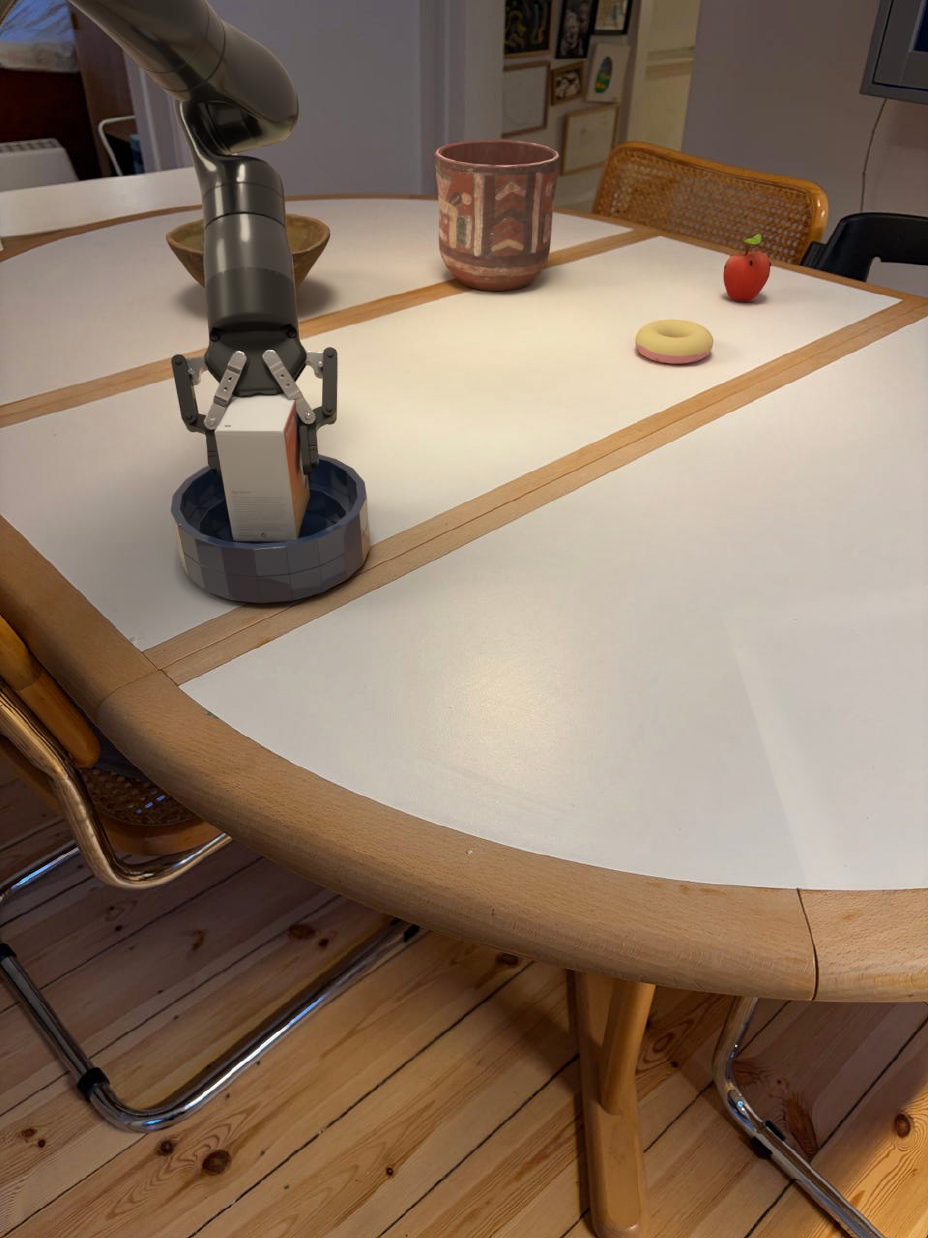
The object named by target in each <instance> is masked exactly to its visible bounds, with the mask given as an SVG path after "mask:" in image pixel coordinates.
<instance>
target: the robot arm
mask: <svg viewBox="0 0 928 1238" xmlns="http://www.w3.org/2000/svg"><path fill="white" fill-rule="evenodd" d="M67 1H68V2H69V3H70V4H71V5H73V6H74V7H75V8H77V9H78V10H79V11H80V12H81V13H82V14H84V15H85V16H86V17H87V18H88V19H90V21H92V22H93V23H94V24H96V25H97V26H98V27H99V28H100V29H101V30H102V31H103V32H104V33H105V34H106V35H107V36H109V37H110V39H112V40H113V41H114V42H115V43H116V44H117V45H118V46H119V47H120V48H121V49H122V50H123V51H124V52H125V53H126V54H127V56H129V57H130V59H132V60H133V62H135V64H137V66H138V67H140V69H141V70H142V71H143V72H145V73H146V75H148V77H150V78H151V80H152V81H153V82H154V83H156V84H157V85H158V87H160V88H161V89H162V91H163V92H165V93H166V94H168V95H169V96H170V97H172V106H173V107H172V108H173V112H174V116H175V119H176V123H177V125H178V128H179V130H180V133H181V135H182V137H183V140H184V142H185V145H186V148H187V150H188V153H189V156H190V158H191V162H192V165H193V169H194V171H195V175H196V179H197V182H198V186H199V190H200V195H201V208H202V219H203V224H204V254H203V262H204V277H205V289H204V290H205V302H206V316H207V328H208V346H207V349H206V351H205V353H204V355H201V356H194V357H188V358H186V357H185V356H184V355H183V354H180V353H177V354H174V355H173V356H172V357H171V359H170V363H171V369H172V374H173V378H174V385H175V391H176V397H177V401H178V407H179V411H180V417H181V420H182V422H183V424H184V425H185V428H186V430H187V431H189V432H190V433H199V434H203V435H204V436H205V442H206V443H205V444H206V455H207V458H206V459H207V466H208V465H209V467H210V469H211V471H212V472H213V474H217V476H218V478H219V480H223V478H222V472H221V466H220V459H219V454H218V448H217V442H216V437H215V429H216V428H217V426H218V425H219V423H220V421H221V420H222V418H223V416H224V414H225V412H226V410H227V408H228V406H229V404H230V402H231V401H232V397H233V396H234V397H250V396H255V395H268V396H269V395H278V394H282V393H284V394H285V396H286V397H287V398H288V399H289V400H296V412H297V415H298V416H299V418H300V424H301V426H299V434H300V445H301V457H302V468H303V474H304V475H312V471H311V468H317V466H318V463H319V456H318V454H319V447H318V431H319V429H321V428H322V427H324V426H327V425H328V426H329V425H330V426H331V425H334V424H335V423H336V422H337V419H338V383H339V382H338V381H339V380H338V378H339V375H338V374H339V361H338V359H339V358H338V351H337V349H336V348H334V347H332V346H329V347H326V348H325V349H324V350H323V351H319V350H318V351H317V350H306V348H305V347H304V345H303V344H302V342H301V339H300V338H301V337H300V329H299V317H298V305H297V293H296V292H295V283H296V279H295V275H294V269H293V259H292V254H291V249H290V245H289V241H288V234H287V223H286V214H287V213H286V200H285V199H286V198H285V191H284V190H285V189H284V184H283V180H282V177H281V175H280V173H279V171H278V170H277V169H276V168H275V167H274V166H273V165H272V164H270V162H268V161H266V160H264V159H262V158H258V157H255V156H250V155H243V154H239V153H243V152H247V151H251V150H255V149H259V148H264V147H267V146H268V147H269V146H272V145H276V144H278V143H281V142H283V141H285V140H286V139H288V138H290V136H291V135H292V133H294V130H295V128H296V126H297V123H298V119H299V115H300V114H299V113H300V106H299V105H300V104H299V98H298V93H297V90H296V87H295V84H294V82H293V80H292V78H291V76H290V74H289V72H288V71H287V69H286V68H285V67H284V65H283V64H282V62H281V61H280V60H279V59H278V58H277V57H276V56H275V55H274V54H273V53H272V52H271V51H270V50H269V49H268V48H267V47H265V46H264V45H263V44H261V43H260V42H258V41H257V40H256V39H254V38H252V37H250V36H249V35H247V34H246V33H244V32H243V31H241V30H239V29H238V28H236V27H235V26H234V25H233V24H230V23H228V22H226V21H225V20H223V19H221V17H220V16H219V15H218V13H217V12H216V11H215V10H214V8H213V6H211V4H210V3H209V2H208V0H67ZM19 2H20V0H0V29H1V28H2V27H3V25H4V23H5V22H6V20H7V19H8V17H9V16H10V15H11V13H12V12H13V10H14V9H15V8H16V6H17V5H18V4H19ZM307 366H309V367H310V368H312V370H313V374H314V376H315V377H316V378H317V379H320V380H321V381H322V383H321V384H322V385H321V386H322V387H321V405H320V406H318V407H315V408H313V409H312V408H311V406H310V405H309V402H308V401H307V400H306V398H305V397H304V395H303V392H302V391H301V389H300V387H299V386H298V384H297V383H296V382H297V381H298V380H299V378H300V376H301V374H302V373H303V372H304V371H305V369H306V367H307ZM206 371H208V372H209V373H210V375H211V376H212V377H213V378H214V379H215V381H216V382H217V383H218V387H217V388H216V391H215V392H214V395H213V398H212V403H211V405H210V408H209V410H208V412H207V414H203V413H200V412H199V407H198V402H197V395H196V391H195V386H199V384H200V383H201V382H202V375H203V374H204V372H206Z"/></svg>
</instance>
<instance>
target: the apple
mask: <svg viewBox="0 0 928 1238" xmlns="http://www.w3.org/2000/svg"><path fill="white" fill-rule="evenodd" d="M761 241H762V234H761V233H758V234H756V235H754V236H753V237H751V238H745V239H744V240H743V243H745V252H739V253H737V254H731V255H730V256H729V257H728V258H727V260H726V262H725V264H724V266H723V273H722V274H723V275H722V276H723V284H724V288H725V291H726V294H727V296H728V297H729V299H730V300H732V301H734V302H744V303H749V302H752V301H753V300H755V299H756V297H757V296H758V295H759V294H760V292H761V291H762V290H763V289H764V287H765V286H766V284H767V282H768V280H769V278H770V274H771V267H772V262H771V261H770V259H769V257H768V255H766V253H764V252H761V251H749V250H750V248H751V245H757V244H761Z"/></svg>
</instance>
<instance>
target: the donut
mask: <svg viewBox="0 0 928 1238" xmlns="http://www.w3.org/2000/svg"><path fill="white" fill-rule="evenodd" d="M634 340H635V341H634V342H635V347H636V349H637V351H638V352H639V353H640V354H641V355H643V356H644V358H647V359H649V360H651V361H655V362H659V363H663V364H673V365H674V364H675V365H676V364H677V365H679V364H690V363H695V362H698V361H700V360H702V359H704V358H706V357H707V356H708V355H709V354H710V352H711V351H712V349H713V346H714V337H713V335H712V333H711V331H710V330H709V329H708V328H707V327H705V326H704V325H701V324H699V323H697V322H693V321H689V320H685V319H684V320H683V319H660V320H659V319H658V320H654V321H650V322H648V323H646V324H645V325H643V326H642V327H640V328H639V330H638V331H637V333H636V335H635V338H634Z"/></svg>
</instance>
